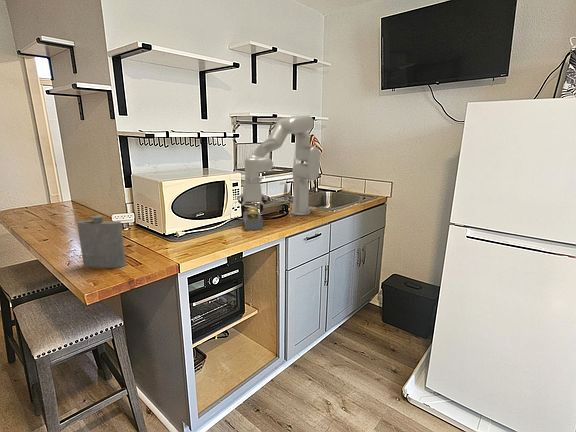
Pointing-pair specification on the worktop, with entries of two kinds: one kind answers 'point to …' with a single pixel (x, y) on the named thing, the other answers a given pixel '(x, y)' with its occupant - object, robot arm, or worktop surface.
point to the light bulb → (252, 212)
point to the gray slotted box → (253, 222)
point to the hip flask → (101, 243)
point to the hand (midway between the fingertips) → (252, 211)
